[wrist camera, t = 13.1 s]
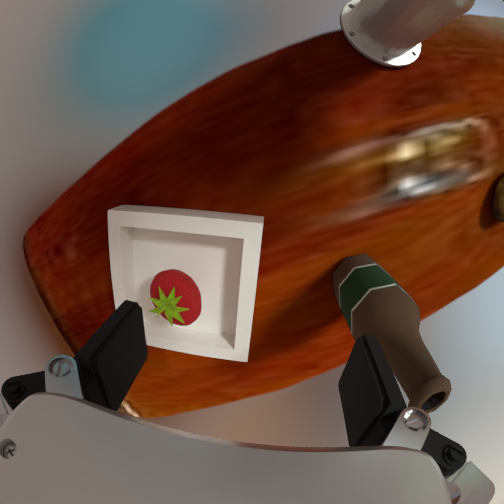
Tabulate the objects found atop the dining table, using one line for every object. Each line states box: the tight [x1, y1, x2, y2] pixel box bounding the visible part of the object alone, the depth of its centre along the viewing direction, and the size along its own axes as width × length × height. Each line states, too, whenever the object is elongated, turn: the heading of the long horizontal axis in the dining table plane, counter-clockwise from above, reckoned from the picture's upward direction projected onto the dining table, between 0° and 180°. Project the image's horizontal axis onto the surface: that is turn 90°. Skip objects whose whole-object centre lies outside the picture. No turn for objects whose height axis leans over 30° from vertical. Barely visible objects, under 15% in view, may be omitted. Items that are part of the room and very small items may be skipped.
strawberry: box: [148, 269, 202, 326], centre depth 33 cm, size 6×8×10 cm
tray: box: [108, 205, 264, 362], centre depth 36 cm, size 20×20×4 cm
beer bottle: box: [333, 254, 451, 413], centre depth 25 cm, size 8×8×24 cm
